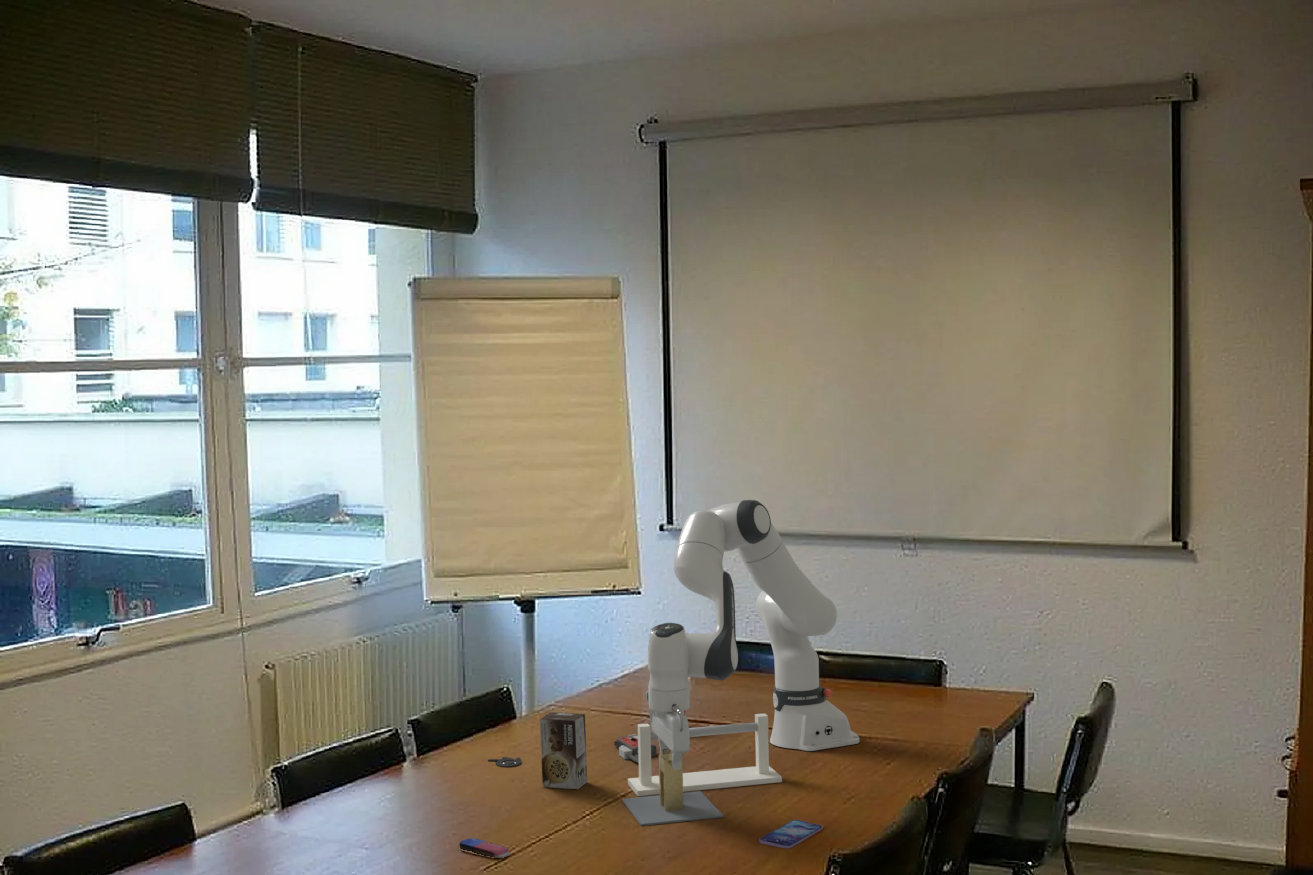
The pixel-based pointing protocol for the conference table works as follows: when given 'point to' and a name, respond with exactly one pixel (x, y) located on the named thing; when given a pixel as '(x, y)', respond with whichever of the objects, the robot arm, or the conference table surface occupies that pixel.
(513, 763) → the dark grey flat piece
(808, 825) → the smartphone
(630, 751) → the walkie-talkie
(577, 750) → the coffee box
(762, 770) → the rod stand
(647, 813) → the rubber mat
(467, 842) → the eraser
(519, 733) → the conference table surface
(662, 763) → the c-link
